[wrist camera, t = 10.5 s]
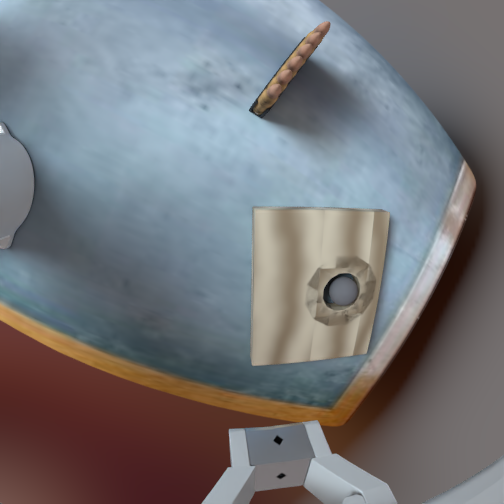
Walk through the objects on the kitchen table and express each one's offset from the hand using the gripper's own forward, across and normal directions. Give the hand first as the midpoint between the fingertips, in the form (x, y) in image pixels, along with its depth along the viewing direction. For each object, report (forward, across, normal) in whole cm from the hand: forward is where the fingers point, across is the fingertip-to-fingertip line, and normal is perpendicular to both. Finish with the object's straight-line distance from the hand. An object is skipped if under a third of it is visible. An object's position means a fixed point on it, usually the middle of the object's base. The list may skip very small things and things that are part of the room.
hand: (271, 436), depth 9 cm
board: (+31, -12, +8) cm, 34 cm away
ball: (+29, -16, +8) cm, 34 cm away
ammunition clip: (+31, -6, -19) cm, 37 cm away
